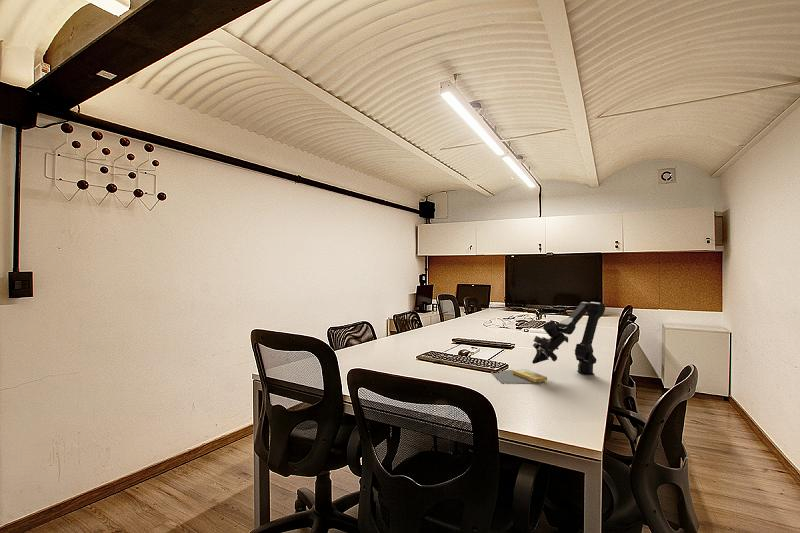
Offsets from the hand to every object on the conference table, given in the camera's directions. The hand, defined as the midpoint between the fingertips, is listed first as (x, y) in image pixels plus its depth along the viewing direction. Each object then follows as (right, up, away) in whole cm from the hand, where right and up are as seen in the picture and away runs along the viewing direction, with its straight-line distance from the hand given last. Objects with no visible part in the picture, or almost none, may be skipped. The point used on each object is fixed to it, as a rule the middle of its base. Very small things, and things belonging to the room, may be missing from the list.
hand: (532, 363), depth 200 cm
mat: (-10, -7, 0) cm, 12 cm away
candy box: (+2, -6, 0) cm, 6 cm away
